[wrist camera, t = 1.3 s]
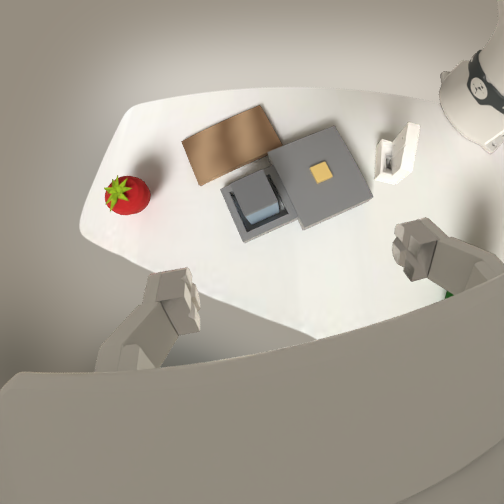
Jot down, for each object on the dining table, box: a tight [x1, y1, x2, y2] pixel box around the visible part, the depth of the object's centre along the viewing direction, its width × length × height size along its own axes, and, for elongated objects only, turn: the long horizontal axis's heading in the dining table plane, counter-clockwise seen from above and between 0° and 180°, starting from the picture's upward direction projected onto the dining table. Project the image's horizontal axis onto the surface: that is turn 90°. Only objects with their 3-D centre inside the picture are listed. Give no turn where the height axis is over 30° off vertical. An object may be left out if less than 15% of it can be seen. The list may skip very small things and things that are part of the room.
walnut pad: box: [181, 105, 283, 186], centre depth 43 cm, size 14×8×1 cm, turn 114°
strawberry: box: [104, 175, 151, 215], centre depth 39 cm, size 6×8×10 cm
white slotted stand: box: [374, 122, 420, 185], centre depth 36 cm, size 4×10×9 cm, turn 170°
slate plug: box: [230, 169, 280, 225], centre depth 38 cm, size 4×4×8 cm
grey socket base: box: [220, 126, 373, 243], centre depth 40 cm, size 19×12×4 cm, turn 114°
